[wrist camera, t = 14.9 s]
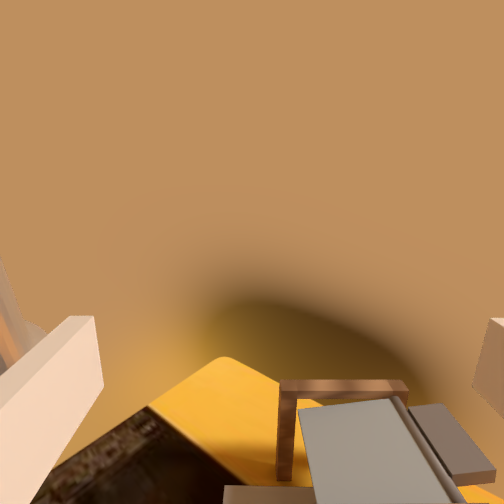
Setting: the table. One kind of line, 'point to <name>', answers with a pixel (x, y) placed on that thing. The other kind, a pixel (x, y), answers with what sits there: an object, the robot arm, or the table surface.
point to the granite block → (268, 495)
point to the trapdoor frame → (324, 390)
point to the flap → (390, 454)
